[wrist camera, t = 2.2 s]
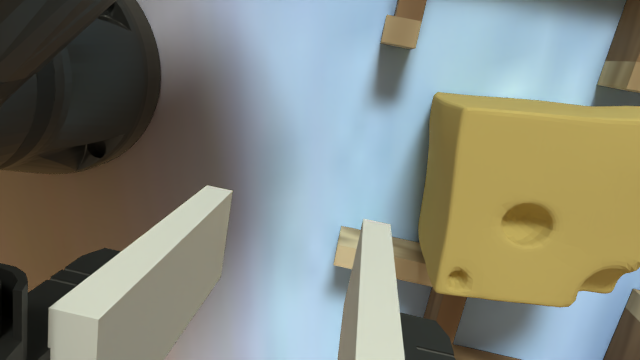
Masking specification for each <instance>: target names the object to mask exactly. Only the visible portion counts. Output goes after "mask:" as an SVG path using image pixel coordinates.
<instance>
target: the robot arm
mask: <svg viewBox="0 0 640 360" xmlns="http://www.w3.org/2000/svg"><path fill="white" fill-rule="evenodd" d="M159 88H160V62H159V55H158V49H157V45H156V41H155V38H154V35H153V32H152V29H151V27H150V24H149V22H148V20H147V18H146V16H145V14H144V12H143V10H142V9H141V7H140V6H139V4H138V2H137V1H136V0H0V170H7V171H19V172H31V173H42V174H68V173H75V172H80V171H84V170H87V169H90V168H93V167H95V166H98V165H100V164H103V163H106V162H108V161H110V160H112V159H114V158H116V157H118V156H120V155H121V154H123V153H124V152H125V151H127V150H128V149H129V148H130V147H131V146H132V145H133V144H134V143H135V142H136V141H137V140H138V139H139V138H140V136H141V135H142V134H143V132H144V131H145V129H146V128H147V126H148V124H149V122H150V120H151V118H152V116H153V113H154V110H155V107H156V104H157V100H158V95H159ZM232 194H233V191H232V190H227V189H222V188H218V187H213V186H208V185H207V186H205V187H204V188H203V189H201V190H200V191H199V192H198V193H196V194H195V195H194V196H192V197H191V198H190V199H188V200H187V201H186V202H185V203H183V204H182V205H181V206H179V207H178V208H177V209H176V210H174V211H173V212H172V213H170V214H169V215H168V216H167V217H165V218H164V219H163V220H161V221H160V222H159V223H158V224H156V225H155V226H154V227H152V228H151V229H150V230H148V231H147V232H146V233H145V234H143V235H142V236H141V237H139V238H138V239H137V240H136V241H134V242H133V243H132V244H130V245H129V246H128V247H127V248H125V249H124V250H123V251H121V252H120V251H116V250H111V249H107V248H104V249H101V250H98V251H95V252H92V253H89V254H86V255H83V256H81V257H80V258H78V259H77V260H75V261H74V262H72V263H71V264H69V265H68V266H67V267H65V270H61V271H59V272H58V273H56V274H55V275H53V276H52V277H51V279H50V280H46V281H45V282H43V283H42V284H40V285H39V286H37V287H36V288H34V289H33V290H31V291H30V292H29V293H28V281H27V277H26V274H25V273H24V272H23V271H21V270H20V269H18V268H17V267H14V266H10V265H6V264H2V263H0V360H164V359H165V357H166V356H167V354H168V353H169V352H170V350H171V349H172V347H173V346H174V344H175V343H176V341H177V340H178V338H179V337H180V336H181V334H182V333H183V331H184V330H185V328H186V327H187V325H188V324H189V322H190V321H191V320H192V318H193V317H194V315H195V314H196V312H197V311H198V309H199V308H200V307H201V305H202V304H203V302H204V301H205V299H206V298H207V296H208V295H209V293H210V292H211V291H212V289H213V288H214V286H215V285H216V283H217V282H218V280H219V279H220V277H221V273H222V266H223V258H224V251H225V244H226V237H227V230H228V222H229V215H230V208H231V201H232ZM338 360H456V359H455V358H454V352H453V348H452V344H451V341H450V337H449V336H448V335H447V334H446V332H445V331H444V330H443V329H442V328H441V326H440V325H439V324H438V323H437V321H435V320H431V319H426V318H422V317H417V316H413V315H408V314H404V313H400V309H399V300H398V291H397V281H396V272H395V263H394V253H393V244H392V235H391V225H390V224H386V223H381V222H376V221H372V220H367V219H363V223H362V227H361V231H360V236H359V240H358V245H357V249H356V253H355V258H354V262H353V267H352V271H351V276H350V280H349V284H348V289H347V293H346V298H345V302H344V308H343V317H342V326H341V334H340V343H339V352H338Z"/></svg>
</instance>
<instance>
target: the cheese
mask: <svg viewBox="0 0 640 360" xmlns="http://www.w3.org/2000/svg"><path fill="white" fill-rule="evenodd" d="M418 234H419V242H420V247H421V250H422V254H423V257H424V259H425V263H426V268H427V273H428V276H429V279H430V281H431V284H432V286H433V288H434V290H435V292H437V293H440V294H446V295H454V296H463V297H471V298H481V299H487V300H495V301H505V302H515V303H526V304H535V305H544V306H554V307H569V306H570V305H571V304H572V303H573V302H574V301H575V300H576V296H577V293H578V291H590V292H597V293H610V292H612V290H613V289H614V287H615V285H616V283H617V281H618V279H619V278H620V277H621V276H622V275H624V274H625V273H630V272H633V271H636V270H637V269H638V268H639V267H640V106H581V105H572V104H564V103H556V102H547V101H539V100H527V99H514V98H500V97H486V96H472V95H460V94H451V93H441V92H437V93H436V94H435V95H434V97H433V101H432V106H431V113H430V123H429V150H428V161H427V172H426V179H425V186H424V193H423V199H422V205H421V211H420V218H419V224H418Z"/></svg>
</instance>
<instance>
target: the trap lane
mask: <svg viewBox="0 0 640 360" xmlns="http://www.w3.org/2000/svg"><path fill="white" fill-rule="evenodd" d="M426 1H427V0H398V1H397V5H396V10H395V14H394V16H391V15H387V16H386V19H385V24H384V28H383V33H382V38H381V42H380V44H386V45H391V46H396V47H401V48H406V49H414V48H416V44H417V39H418V35H419V31H420V26H421V22H422V18H423V14H424V9H425V5H426ZM597 85H600V86H605V87H610V88H615V89H620V90H626V91H631V92H636V93H640V0H627V1H626V3H625V6H624V9H623V12H622V15H621V18H620V21H619V23H618V26H617V29H616V32H615V35H614V38H613V41H612V44H611V46H610V49H609V52H608V55H607V58H606V61H605V64H604V67H603V69H602V72H601V75H600V78H599V81H598V84H597ZM360 231H361V230H358V229H353V228H349V227H344V226H341V230H340V235H339V239H338V244H337V249H336V255H335V260H334V265H335V266H340V267H344V268H349V269H352V267H353V262H354V258H355V253H356V249H357V245H358V240H359V236H360ZM392 244H393V253H394V263H395V272H396V279H399V280H403V281H408V282H412V283H417V284H421V285H426V286H430V287H432V289H431V292H430V296H429V299H428V303H427V306H426V310H425V314H424V317H423V318H426V319H431V320H435V321H437V323H438V324H439V325H440V326H441V328H442V329H443V330H444V331H445V332H446V334H447V335H448V336H449V337H450V341H451V344H452V348H453V352H454V358H455V359H456V360H521V359H516V358H512V357H507V356H503V355H499V354H494V353H490V352H485V351H481V350H477V349H472V348H468V347H463V346H459V345H455V344H453V341H454V338H455V335H456V332H457V328H458V325H459V322H460V319H461V315H462V312H463V309H464V306H465V302H466V299H467V297H463V296H454V295H446V294H440V293H437V292H435V290H434V288H433V286H432V284H431V281H430V279H429V276H428V273H427V268H426V263H425V259H424V257H423V254H422V250H421V247H420V243H418V242H414V241H409V240H404V239H400V238H395V237H392ZM603 360H640V290H636V289H633V290H632V293H631V295H630V297H629V300H628V302H627V304H626V307H625V309H624V312H623V314H622V316H621V319H620V321H619V323H618V326H617V328H616V331H615V333H614V335H613V338H612V340H611V342H610V345H609V347H608V350H607V352H606V354H605V357H604V359H603Z"/></svg>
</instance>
